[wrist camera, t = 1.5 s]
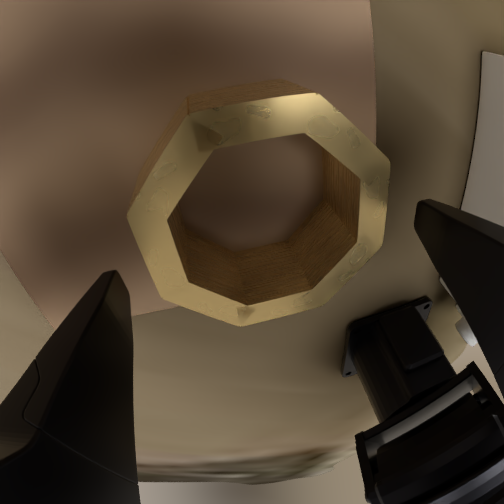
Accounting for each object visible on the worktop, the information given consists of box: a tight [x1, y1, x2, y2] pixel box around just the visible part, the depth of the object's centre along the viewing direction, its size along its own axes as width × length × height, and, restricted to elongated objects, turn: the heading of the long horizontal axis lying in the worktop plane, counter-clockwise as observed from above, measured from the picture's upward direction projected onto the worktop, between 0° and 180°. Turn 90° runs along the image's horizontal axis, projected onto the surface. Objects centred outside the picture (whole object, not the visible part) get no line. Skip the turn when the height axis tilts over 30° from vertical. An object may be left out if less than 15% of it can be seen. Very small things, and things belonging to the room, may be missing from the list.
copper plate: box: [0, 0, 376, 330], centre depth 8 cm, size 20×16×1 cm
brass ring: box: [127, 79, 391, 327], centre depth 10 cm, size 7×7×3 cm
